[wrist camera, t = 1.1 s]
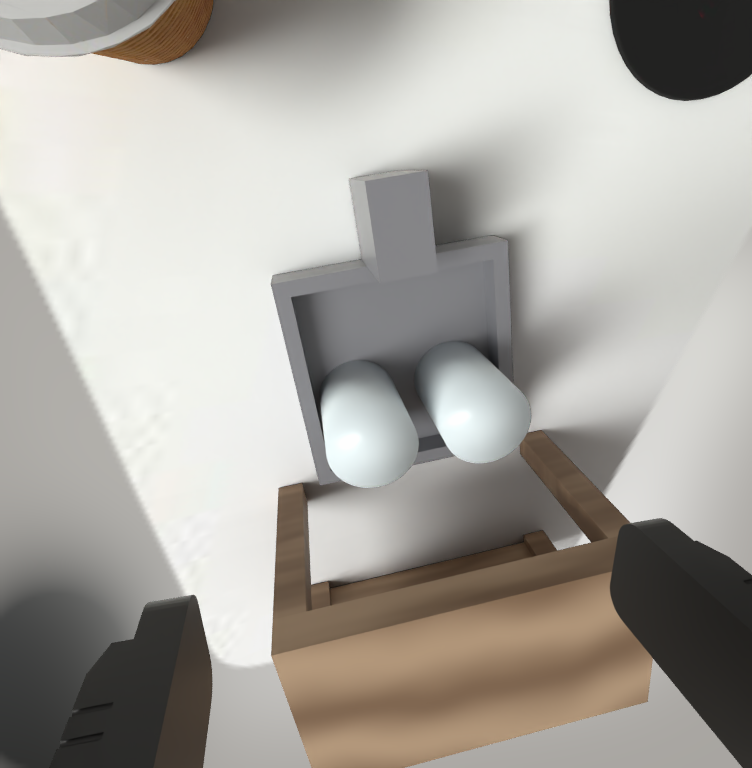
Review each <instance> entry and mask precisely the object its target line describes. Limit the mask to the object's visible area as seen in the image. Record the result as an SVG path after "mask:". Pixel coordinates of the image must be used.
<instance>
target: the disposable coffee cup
mask: <svg viewBox="0 0 752 768" xmlns="http://www.w3.org/2000/svg"><path fill="white" fill-rule="evenodd" d="M212 9H213V0H0V49H2V50H6V51H10V52H14V53H17V54H21V55H26V56H50V57H65V56H82V55H86V54H90V53H93V54H97V55H102V56H107V57H111V58H117V59H121V60H126V61H130V62H134V63H138V64H152V65H155V64H160V63H166V62H170V61H172V60H174V59H177V58H179V57H181V56H183V55H184V54H185V53H186V52H188V51H189V50H190V49H192V48H193V47H194V45H195V44H196V43H197V41H198V40H199V39H200V37H201V36H202V35H203V33H204V31H205V29H206V27H207V24H208V22H209V20H210V17H211V13H212Z"/></svg>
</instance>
